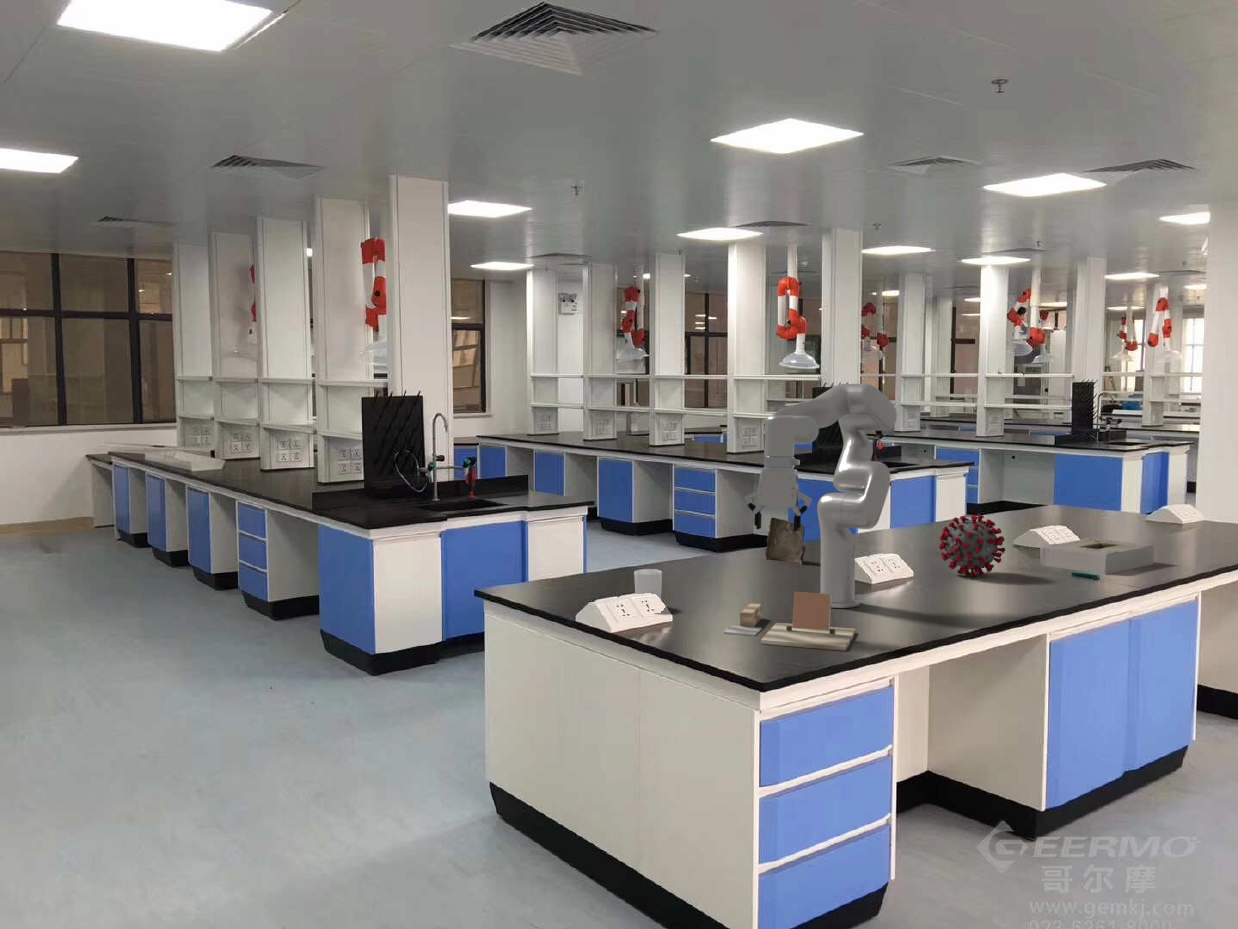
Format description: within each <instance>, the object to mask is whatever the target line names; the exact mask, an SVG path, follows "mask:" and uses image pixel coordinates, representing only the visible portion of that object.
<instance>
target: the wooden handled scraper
mask: <svg viewBox="0 0 1238 929" xmlns="http://www.w3.org/2000/svg"><path fill="white" fill-rule="evenodd" d="M762 606H763V604H762V603H754V602H753V603H751V602H750V603H749V604H748V605H747V606H746V607H744V608H743V610H742V611H740V613H739V620H740V621H739V623H740V624H739V625H729V627H728V628H726V629H725V630H723V634H725V635H726V634H727V635H737V636H738V635H739V636H750V637H751V636H752V637H756V636H757V635H758V634H759V633H760V632H761V631H762V627H755V626H756V625H757V624H758V623H759V622H760V620H761V619H762V617H763V616H762V615H763V612H762V609H763V607H762Z"/></svg>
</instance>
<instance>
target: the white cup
mask: <svg viewBox="0 0 1238 929" xmlns="http://www.w3.org/2000/svg"><path fill="white" fill-rule="evenodd" d="M633 576H634V591H635V594H641V593H651V594H656V595H657V596H658V597H659V598H660V600H661V598H662V587H663V586H662V584H663V580H662V579H663V571H662V570H660V569H653V568H644V569H643V568H642V569H637V570H634V572H633Z"/></svg>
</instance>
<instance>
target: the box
mask: <svg viewBox="0 0 1238 929" xmlns="http://www.w3.org/2000/svg"><path fill="white" fill-rule="evenodd" d="M1039 548H1040V549H1039V551H1040V553H1039V555H1040V565H1041V566H1046V567H1053V568H1059V569H1066V570H1072V571H1079V572H1085V573H1093V574H1099V575H1111V574H1114V573H1115V574H1116V573H1119V572H1124V571H1129V570H1133V569H1137V568H1141V567H1146V566H1151V565H1154V558H1155V557H1154V556H1155V545H1153V544H1142V543H1133V542H1126V541H1118V540H1110V539H1101V538H1096V537H1085V538H1081V539H1078V540H1072V541H1067V542H1061V543H1051V544H1043V545H1041V546H1040V547H1039Z"/></svg>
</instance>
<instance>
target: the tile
mask: <svg viewBox="0 0 1238 929" xmlns="http://www.w3.org/2000/svg"><path fill="white" fill-rule="evenodd" d="M793 594H794V595H793V612H792V623H791V624H792V628H795V629H808V630H821V631H829V630H830V627H831V610H832V609H831V608H832V607H831V594H821V592H819V593H818V592H817V593H816V592H804V591H803V592H802V591H801V592H800V591H794V593H793Z"/></svg>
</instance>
